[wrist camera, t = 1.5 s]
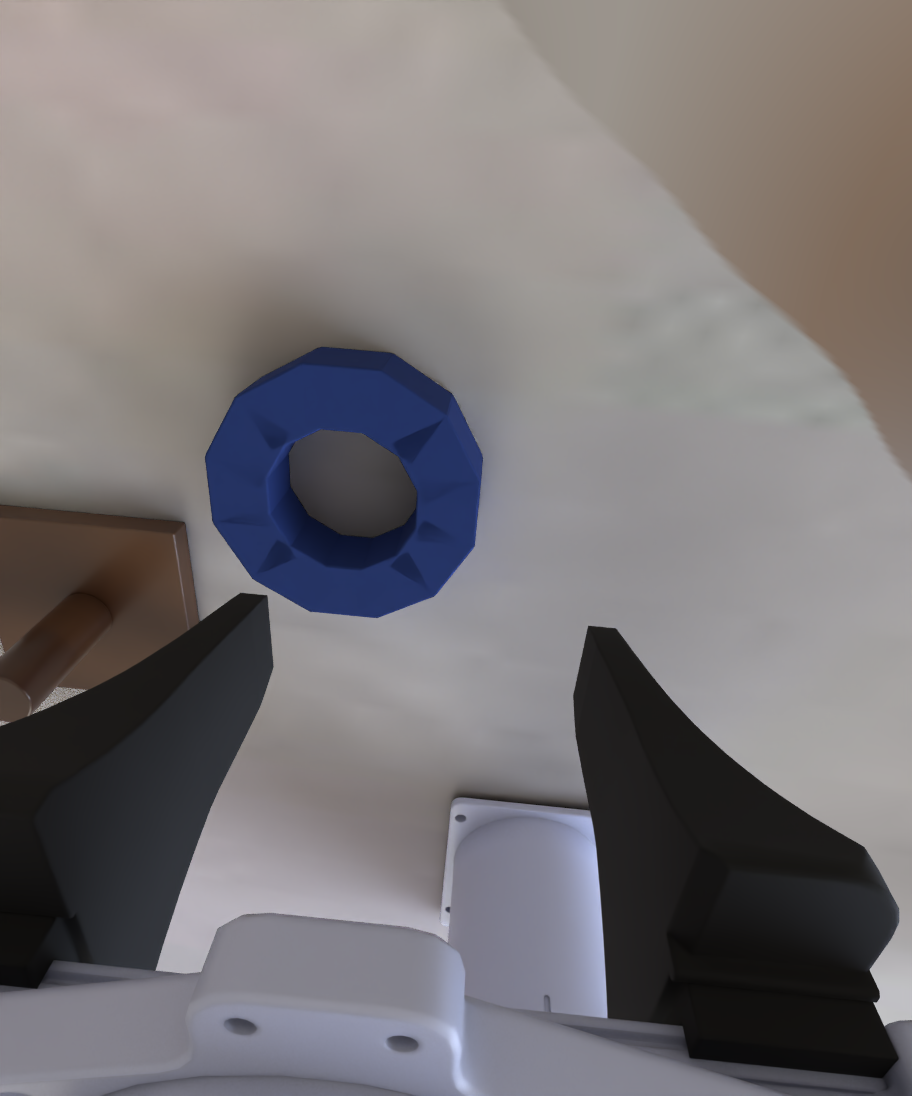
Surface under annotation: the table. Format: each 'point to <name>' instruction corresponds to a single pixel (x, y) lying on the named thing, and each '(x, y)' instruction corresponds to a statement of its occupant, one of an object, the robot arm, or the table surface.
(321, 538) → the ring
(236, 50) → the table surface
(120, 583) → the stand
